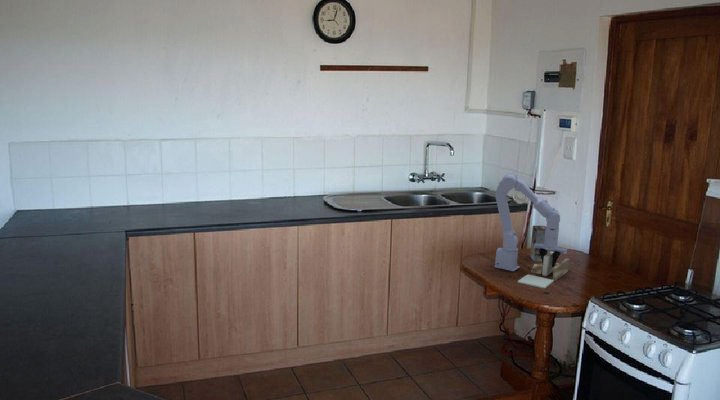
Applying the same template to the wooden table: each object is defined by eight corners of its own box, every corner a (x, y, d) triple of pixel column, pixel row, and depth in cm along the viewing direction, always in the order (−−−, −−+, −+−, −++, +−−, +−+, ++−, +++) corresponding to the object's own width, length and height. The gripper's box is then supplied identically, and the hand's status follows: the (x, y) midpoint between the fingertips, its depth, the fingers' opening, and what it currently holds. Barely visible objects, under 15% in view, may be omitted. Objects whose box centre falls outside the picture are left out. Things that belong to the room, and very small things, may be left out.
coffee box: (547, 262, 293) (550, 230, 289) (533, 261, 293) (536, 229, 290) (542, 256, 302) (545, 225, 298) (529, 256, 302) (532, 225, 299)
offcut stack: (530, 273, 277) (530, 268, 277) (534, 268, 284) (534, 263, 284) (540, 275, 275) (541, 269, 274) (544, 270, 282) (545, 265, 281)
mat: (517, 282, 262) (517, 281, 262) (527, 275, 272) (527, 274, 272) (544, 288, 256) (544, 287, 256) (553, 281, 265) (553, 280, 265)
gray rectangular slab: (542, 275, 273) (543, 256, 271) (549, 270, 281) (551, 251, 279) (546, 276, 272) (548, 257, 270) (553, 270, 280) (555, 252, 278)
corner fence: (523, 274, 274) (525, 261, 273) (538, 264, 289) (539, 252, 288) (555, 281, 266) (557, 268, 265) (568, 270, 281) (570, 258, 280)
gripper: (532, 236, 274) (530, 264, 277) (564, 241, 266) (561, 271, 269) (538, 233, 280) (535, 261, 283) (569, 238, 272) (566, 267, 274)
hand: (548, 265), depth 276 cm, fingers open, 4 cm apart
